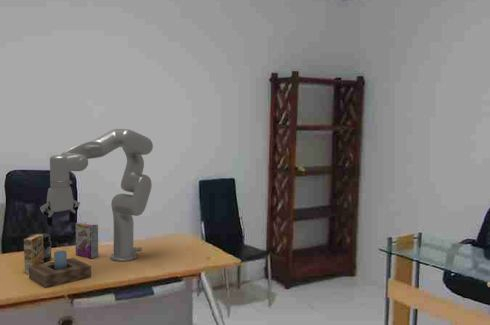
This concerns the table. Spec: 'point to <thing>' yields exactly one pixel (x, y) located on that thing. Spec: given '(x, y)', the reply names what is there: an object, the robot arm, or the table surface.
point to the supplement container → (46, 246)
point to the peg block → (59, 273)
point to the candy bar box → (86, 239)
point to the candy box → (33, 251)
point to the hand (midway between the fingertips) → (61, 223)
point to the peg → (60, 260)
